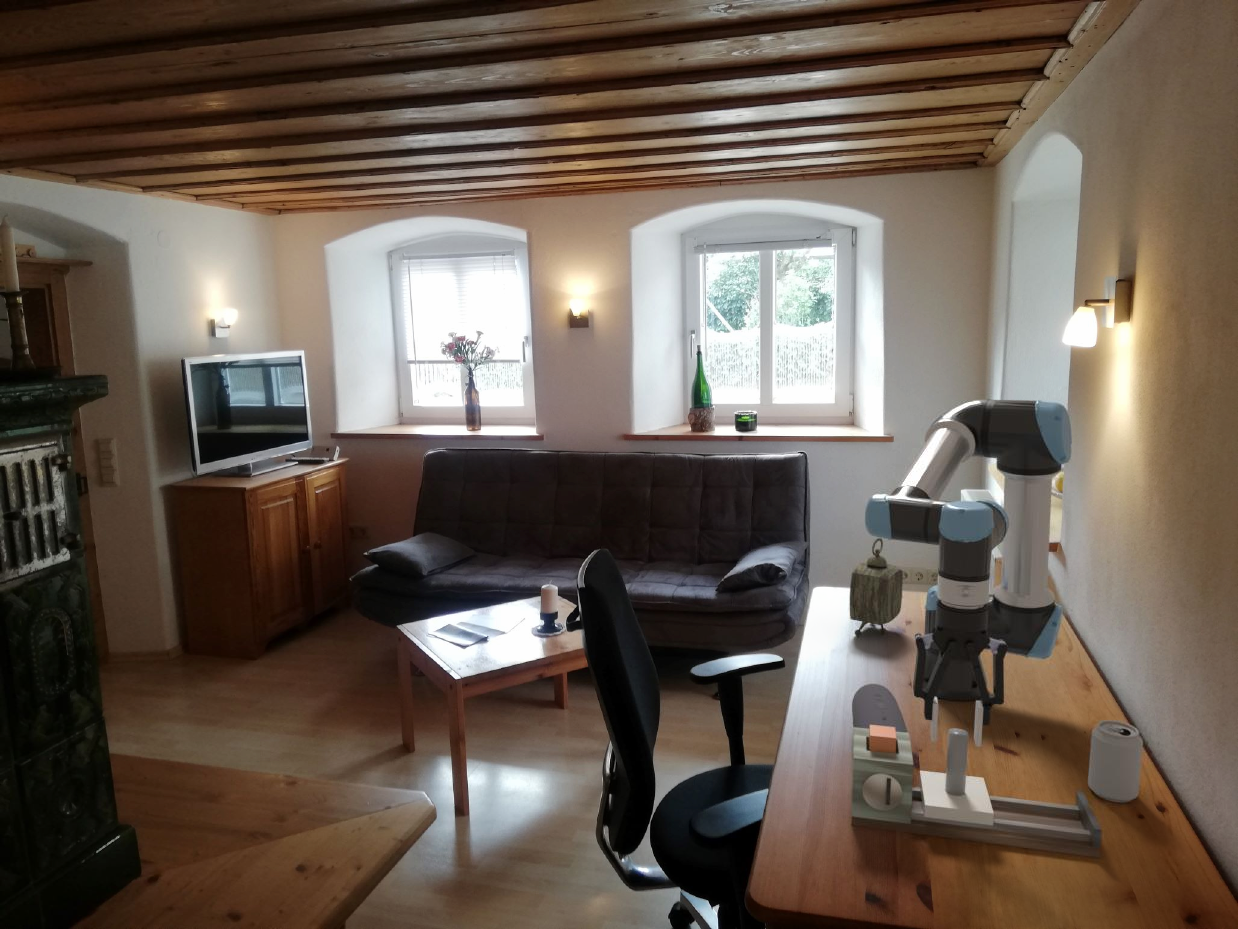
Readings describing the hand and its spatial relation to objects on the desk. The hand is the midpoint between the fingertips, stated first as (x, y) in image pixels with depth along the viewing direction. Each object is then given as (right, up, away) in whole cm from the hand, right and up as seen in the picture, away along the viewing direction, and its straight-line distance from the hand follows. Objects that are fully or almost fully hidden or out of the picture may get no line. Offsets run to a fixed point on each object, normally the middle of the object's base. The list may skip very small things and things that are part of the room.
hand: (955, 740), depth 139 cm
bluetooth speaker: (-5, -10, +23) cm, 25 cm away
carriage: (0, -10, +1) cm, 10 cm away
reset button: (-11, -2, +3) cm, 11 cm away
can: (+30, -12, +9) cm, 34 cm away
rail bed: (+2, -13, +1) cm, 14 cm away
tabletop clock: (+13, 0, +87) cm, 88 cm away
